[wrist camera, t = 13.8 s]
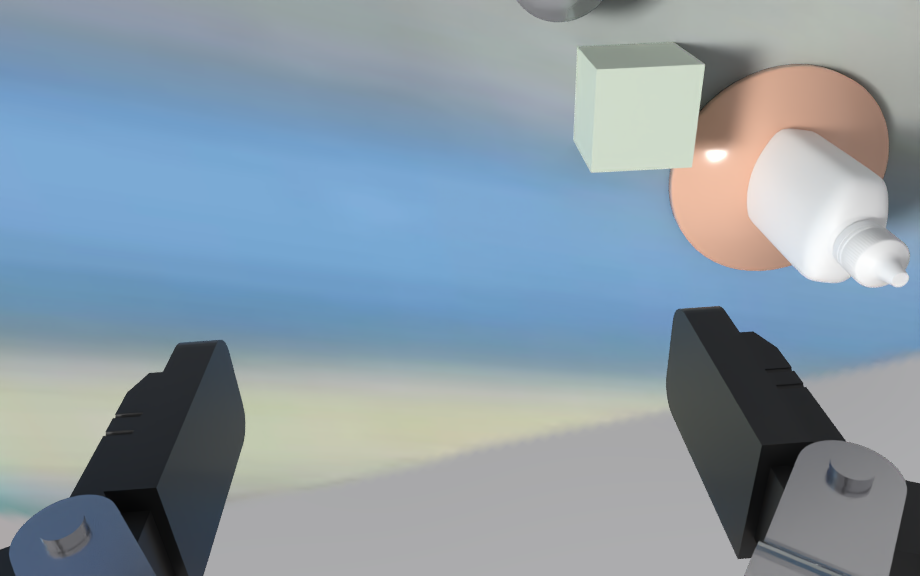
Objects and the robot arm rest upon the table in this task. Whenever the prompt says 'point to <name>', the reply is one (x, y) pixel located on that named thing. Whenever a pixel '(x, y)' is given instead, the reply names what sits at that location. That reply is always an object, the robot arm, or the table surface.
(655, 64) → the sage block
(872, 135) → the salmon disc
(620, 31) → the table surface
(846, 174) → the eye dropper bottle
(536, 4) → the steel puck
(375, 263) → the table surface
